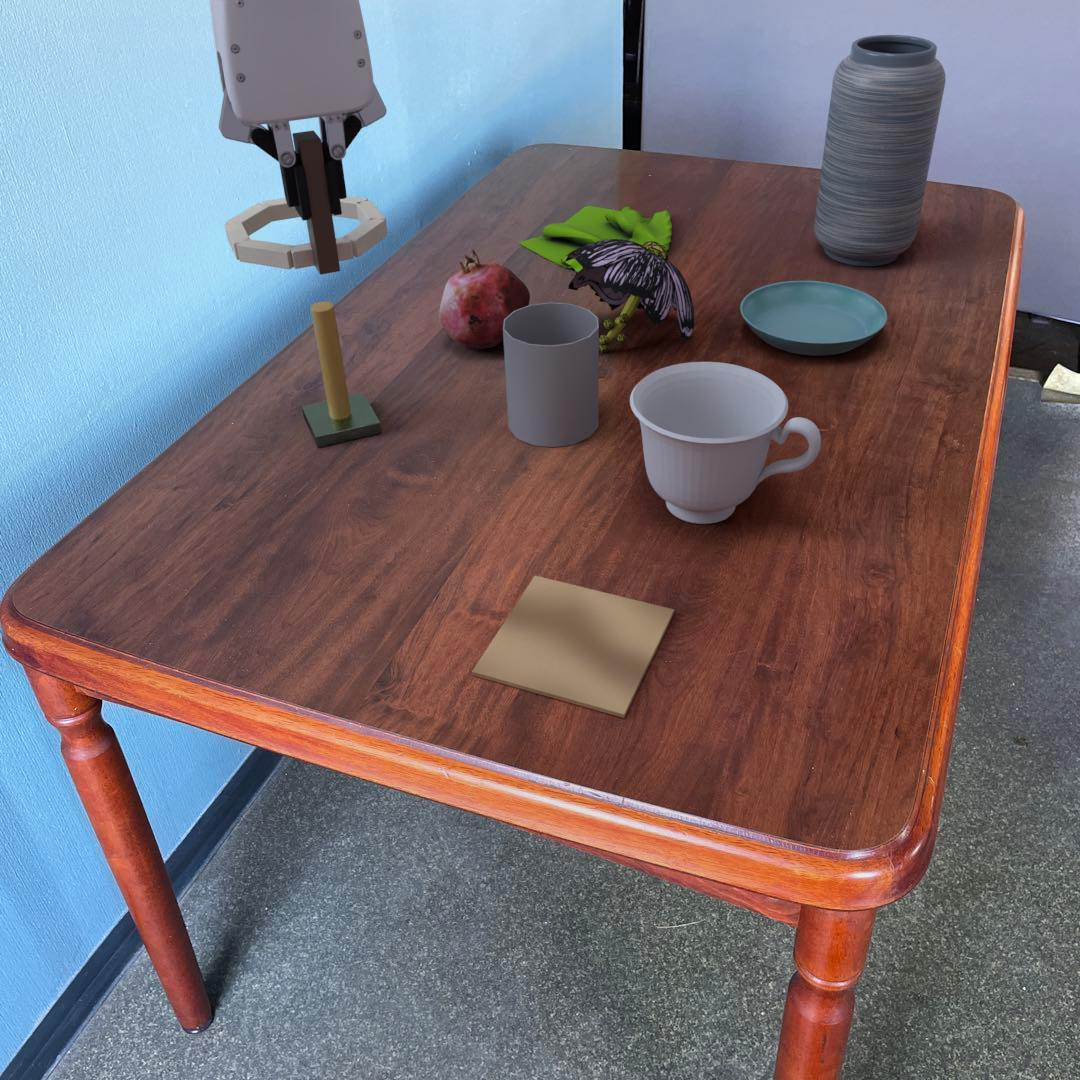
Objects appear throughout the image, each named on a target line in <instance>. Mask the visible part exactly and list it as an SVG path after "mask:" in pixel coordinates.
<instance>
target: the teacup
mask: <svg viewBox="0 0 1080 1080" xmlns="http://www.w3.org/2000/svg"><path fill="white" fill-rule="evenodd" d="M629 406H630V408H631V411H632V412H633V414H634V416H635V417H636V418H637V419H638V420H639V424H640V430H641V431H640V432H641V440H642V450H643V451H642V452H643V460H644V466H645V472H646V475H647V479H648V482H649V483H650V485H651V487H652V489H653V490H654V492H656V494H657V495H658V496H659V497H660V498H661V499H662V500H664V501H665V505H666V506H665V507H666V508H667V510H668V511H669V512H670V513H671V515H673V516H674V517H676V518H678V519H680V520H682V521H684V522H686V523H690V524H697V525H698V524H699V525H709V524H714V523H715V524H716V523H719V522H722V521H725V520H727V519H728V518H729V517H731V516H732V515H733V514H734V512H735V510H736V507H737V506H739V505H740V504H742V503H743V502H744V501H745V500H748V498H749V497H750V496H751V495H752V494H753V492H754V491H755V490H756V488H757V486H758V485H759V484H760V483H761V482H763V481H764V480H765V479H767V478H768V477H770V476H774V475H779V474H792V473H797V472H799V471H803V470H804V469H806V468H808V467H809V466H810V465H812V464H813V463H814V461H815V460H816V459H817V457H818V455H819V453H820V451H821V444H822V436H821V433H820V429H819V428H818V426H817V425H816V424H815V422H813V421H812V420H810V419H808V418H806V417H800V416H798V417H792V418H790V419H788V420H787V421H786V423H785V424H784V426H783V428H782V427H781V426H780V424H782V422H783V421H784V419H786V416H787V414H788V411H789V400H788V398H787V396H786V394H785V392H784V390H782V388H780V387H779V385H778V384H777V383H775V382H774V381H773V380H772V379H770V378H769V377H767V375H764V374H762V373H760V372H757V371H756V370H753V369H751V368H748V367H744V366H741V365H737V364H732V363H726V362H719V361H717V362H716V361H691V362H683V363H675V364H672V365H668V366H665V367H662V368H659V369H656V370H654V371H652V372H651V373H648V374H647V375H646V376H645V377H643V378H642V379H640V381H639V382H637V384H635V386H634V387H633V389H632V391H631V393H630V395H629ZM792 433H796V434H799V435H802V436H803V437H804V438H805V439H806V440H807V443H808V448H807V450H806V451H805V452H804V453H803V454H801V455H799V456H798V457H794V458H786V459H780V460H776V461H774V462H771V463H770V464H767V466H765V465H766V461H767V458H768V453H769V450H770V447H771V446H770V445H771V443H772V442H771V441H774V442H775V443H776V444H777V445H783V444H784V443H786V441H787V439H788V437H789V435H790V434H792Z"/></svg>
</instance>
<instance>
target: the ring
mask: <svg viewBox="0 0 1080 1080" xmlns="http://www.w3.org/2000/svg"><path fill="white" fill-rule="evenodd" d="M291 136H292V141H293V146H294V150H295V152H296V153H297V155H298V156H299V162H300V163H301V165H302V166H304V168H305V173H306V179H307V186H308V192H309V199H310V205H311V211H312V217H311V218H310V220H305V221H306V227H307V232H308V239H309V242H307V243H301V244H295V245H292V244H286V243H278V242H272V241H265V240H258V239H252V238H250V236H251V235H253V234H254V233H256V232H258V231H260V230H261V229H262V228H264V227H265V226H267V225H269V224H271V223H272V222H278V221H285V220H291V219H297V218H301V217H300V215H299V214H298V212H297V211H296V209H295V207H289V206H288V205H287V202H286V198H285V197H281V198H275V199H269V200H263V201H262V202H257V203H255V204H254V205H252V206H251V207H249V208H246V209H245V210H243V211H242V212H240V213H238V214H237V215H235V216H233V217H232V218H230V219H228V220H227V221H225V223H224V230H225V234H226V240H227V241H228V244H229V246H230V249H231V251H232V253H233V255H234V257H235V259H236V261H239V262H240V263H246V264H251V265H258V266H259V265H260V266H264V267H265V266H266V267H272V268H277V269H278V268H279V269H284V270H291V269H293V268H294V269H295V270H299V269H303V268H304V269H305V268H310V267H315V268H316V270H317V272H318V274H319V275H320V276H321V275H327V274H332V273H333V274H334V273H337V272H341V265H340V262H343V261H349V260H353V259H354V258H360V257H361V256H362V255H363V254H365V253H366V252H367V251H369V250H370V249H372V248H373V247H374V246H376V245H377V244H379V243H380V242H381V241H383V240H384V239H385V238H387V237H388V224H387V218H386V216H385V215H384V214H383V213H382V212H381V210H380V209H379V208H378V206H377V205H376V204H375V203H374V202H373V201H372V200H371V199H369V198H366V197H357V196H351V195H347V197H346V198H345V199H340V203H341V210H342V214H341V215H334V214H331V207H330V200H329V193H328V187H327V180H326V173H325V166H324V156H323V149H322V143H321V137H320V136H319V135H318V134H317V132H315V130H307V131H299V132H293V133H291ZM333 217H337V218H344V219H345V218H346V219H350V220H358V221H359V223H360V224H359V225H358V226H357V227H355V228H353V230H351V231H349V232H348V233H347V234H345V235H344V236H341V237H336V232H335V226H334V225H335V223H334V220H333V219H334V218H333Z"/></svg>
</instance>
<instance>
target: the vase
mask: <svg viewBox="0 0 1080 1080" xmlns="http://www.w3.org/2000/svg"><path fill="white" fill-rule="evenodd" d="M937 51H938V47H937V44H936V43H935V42H933V41H932V40H929V39H926V38H923V37H919V36H911V35H901V34H878V35H876V34H875V35H869V36H864V37H861V38H858V39H856V40H854V41H852V44H851V47H850V54H849V55H847V56H846V57H844V58H843V59H842V60H841V61H840V62H839V64H838V65H837V66H836V69H835V70H834V74H833V77H832V84H831V90H830V91H831V92H830V99H829V108H828V115H827V121H826V122H827V123H826V130H825V139H824V146H823V154H822V162H821V170H820V175H819V176H820V177H819V185H818V191H817V201H816V206H815V207H816V209H815V215H814V222H813V231H814V235H815V238H816V240H817V242H818V243H819V244H820V246H821V247H822V248H823V252H824V253H825V255H826V256H828V258H830V259H832V260H834V261H835V262H838V263H842V264H845V265H849V266H857V267H877V266H884V265H887V264H891V263H892V262H895V261H896V260H897V259H898V258H899V256H900V254H903V253H904V252H905V251H906V250H907V249H908V248H910V247H911V245H912V244H913V242H914V241H915V239H916V236H917V232H918V228H919V223H920V218H921V212H922V208H923V201H924V198H925V197H924V196H925V192H926V186H927V180H928V176H929V171H930V165H931V159H932V155H933V154H932V153H933V149H934V145H935V144H934V143H935V139H936V133H937V129H938V123H939V118H940V112H941V107H942V102H943V96H944V92H945V87H946V72H945V68H944V66H943V65H942V63H941V62H940V60H938V59H937V58H936V57H937Z"/></svg>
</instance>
